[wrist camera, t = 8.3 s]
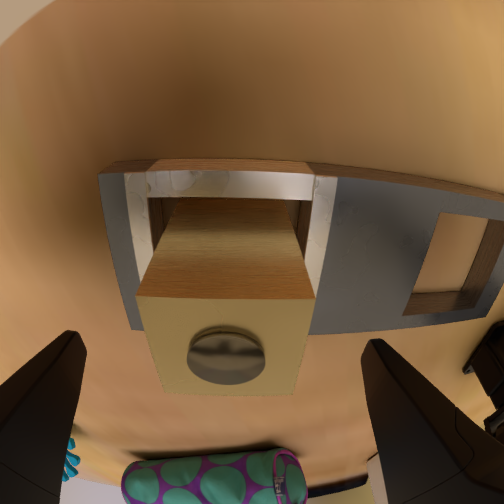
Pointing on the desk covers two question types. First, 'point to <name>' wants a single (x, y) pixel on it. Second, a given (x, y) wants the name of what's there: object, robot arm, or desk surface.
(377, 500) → the photo printer
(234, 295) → the wooden pull-out drawer
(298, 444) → the desk surface
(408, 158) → the desk surface
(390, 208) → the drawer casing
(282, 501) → the pencil case
